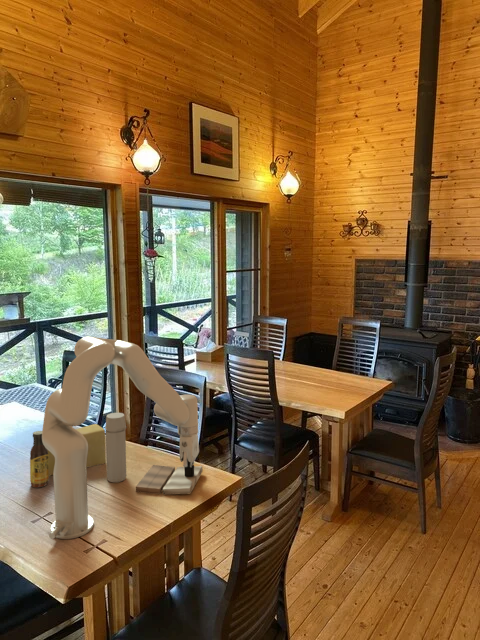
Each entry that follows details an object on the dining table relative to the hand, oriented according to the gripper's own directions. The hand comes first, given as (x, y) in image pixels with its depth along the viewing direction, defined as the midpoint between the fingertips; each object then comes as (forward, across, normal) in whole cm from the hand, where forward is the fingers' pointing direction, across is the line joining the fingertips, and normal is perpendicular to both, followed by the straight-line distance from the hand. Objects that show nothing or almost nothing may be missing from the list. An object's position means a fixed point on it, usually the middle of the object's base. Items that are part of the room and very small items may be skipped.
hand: (189, 475), depth 177 cm
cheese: (+3, +4, +48) cm, 49 cm away
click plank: (+2, -1, +2) cm, 3 cm away
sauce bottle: (+2, -11, +54) cm, 55 cm away
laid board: (+3, -1, +13) cm, 13 cm away
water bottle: (+3, -1, +28) cm, 28 cm away
